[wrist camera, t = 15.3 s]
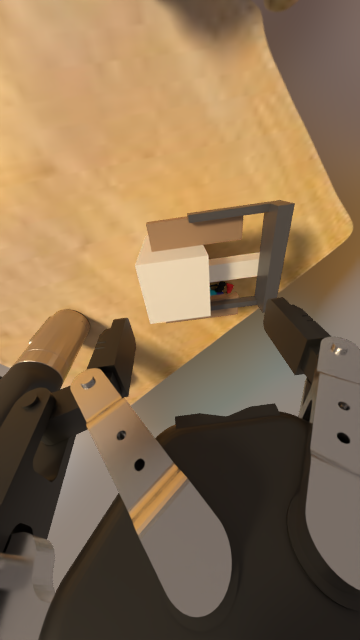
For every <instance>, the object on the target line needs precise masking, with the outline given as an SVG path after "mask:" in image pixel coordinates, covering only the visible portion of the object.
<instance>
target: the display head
mask: <svg viewBox="0 0 360 640" xmlns="http://www.w3.org/2000/svg"><path fill="white" fill-rule="evenodd" d="M146 226H147V231H148V235H146V236H145V239H144V241H143V244H142V247H141V250H140V253H139V256H138V258H137V261H136V264H135V268H136V271H137V275H138V279H139V283H140V287H141V290H142V294H143V298H144V302H145V305H146V309H147V313H148V317H149V321H150V324H153V323H161V322H166V323H173V322H181V321H188V320H196V319H204V318H211V317H219V316H227V315H234V314H238V307H237V308H229V309H221V310H213V311H211V309H210V302H212V301H220V300H228V299H235V298H239V296H238V294H237V293H236V292H235V293H227V294H220V295H212V296H210V282H217V281H225V280H232V279H239V278H247V277H254V276H257V272H258V263H259V255H260V252H258V253H251V254H244V255H236V256H229V257H222V258H215V259H209V257H208V254H207V252H206V250H205V248H204V246H203V245H206V244H213V243H220V242H227V241H234V240H241V239H242V228H243V216H236V217H229V218H222V219H215V220H208V221H201V222H194V223H189V222H188V216H187V217H180V218H173V219H166V220H159V221H152V222H147V223H146Z"/></svg>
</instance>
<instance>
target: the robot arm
mask: <svg viewBox="0 0 360 640" xmlns="http://www.w3.org/2000/svg"><path fill="white" fill-rule="evenodd" d="M263 322H264V323H263V324H264V329H265V331H266V333H267V334H268V336H269V337H270V339H271V340H272V342H273V343H274V345H275V346H276V348H277V349H278V351H279V352H280V354H281V355H282V357H283V358H284V360H285V361H286V363H287V364H288V365H289V367H290V368H291V370H292V371H293V373H294V374H295V375H299V374H305V375H306V376H307V378H306V381H305V385H304V390H303V396H302V401H301V406H300V411H299V415H298V417H297V416H294V415H292V414H288V413H284V412H279V411H278V409H277V407H276V405H275V404H267V405H260V406H252V407H249V408H246V409H244V410H241V411H239V412H237V413H234V414H232V415H230V416H226V417H225V416H216V415H208V414H200V413H199V414H191V415H184V416H177V417H175V423H176V424H175V425H173V426H171V427H169V428H167V429H166V430H164V431H163V432H162V433H160V434H159V435H158V436H157V437H156V438H154V436H153V435H152V433H151V432H150V431H149V430H148V428H147V427H146V426H145V424H144V423H143V422H142V420H141V419H140V418H139V416H138V415H137V414H136V412H135V411H134V410H133V409H132V407H131V406H130V404H129V403H128V402H127V400H126V399H125V398H124V397H128V395H129V388H130V382H131V375H132V369H133V362H134V356H135V349H136V343H135V338H134V334H133V331H132V328H131V325H130V322H129V319H128V318H121V319H114V320H113V323H112V326H111V329H106V330H105V331H104V332H103V333H102V334H101V335H100V337H99V339H98V342H97V344H96V347H95V350H94V352H93V355H92V357H91V360H90V362H89V365H88V367H87V370H85V371H83V372H81V373H80V374H78V375H77V376H76V377H75V378H74V380H73V381H72V383H71V386H68V387H66V388H63V389H61V390H60V388H61V386H62V384H63V382H64V380H65V378H66V376H67V374H68V372H69V370H70V368H71V366H72V364H73V362H74V360H75V358H76V356H77V354H78V352H79V350H80V348H81V346H82V344H83V342H84V340H85V338H86V336H87V334H88V332H89V330H90V324H89V322H88V320H87V319H86V318H85V317H84V316H83V315H82V314H80V313H78V312H76V311H73V310H60V311H58V312H56V313H55V314H54V316H52V317H49V318H48V319H47V320H46V321H45V323H44V324H43V325H42V326H41V328H40V329H39V330H38V331H37V332H36V334H35V335H34V336H33V337H32V338H31V340H30V341H29V344H30V345H29V346H28V347H27V349H26V350H25V351H24V352H23V354H22V355H21V356H20V357H19V359H18V360H17V361H16V362H15V364H14V365H13V366H12V367H11V368H10V370H9V371H8V372H7V373H6V374H5V375H4V376H3V377H2V378H1V379H0V640H360V349H359V348H358V347H357V346H356V345H355V344H354V343H352V342H351V341H349V340H346V339H343V338H339V337H331V336H330V335H329V334H328V333H327V332H326V331H325V330H324V329H323V328H322V327H321V326H320V325H319V324H318V323H316V322H315V321H313V319H312V318H311V317H310V316H308V314H307V313H306V312H305V311H303V309H301V308H299V307H297V306H295V305H290V304H289V303H288V302H287V301H286V300H285V299H284V298H283V297H281V298H273V299H268V300H267V303H266V309H265V315H264V321H263ZM87 429H88V430H89V432H90V434H91V436H92V439H93V441H94V443H95V445H96V447H97V449H98V451H99V453H100V455H101V457H102V459H103V461H104V463H105V465H106V467H107V469H108V471H109V473H110V475H111V477H112V479H113V481H114V483H115V485H116V487H117V490H118V492H119V493H118V495H117V496H116V498H115V500H114V501H113V503H112V504H111V506H110V507H109V509H108V510H107V512H106V514H105V515H104V517H103V518H102V520H101V521H100V523H99V524H98V526H97V527H96V529H95V530H94V532H93V534H92V535H91V536H90V538H89V540H88V541H87V543H86V544H85V546H84V547H83V549H82V550H81V552H80V553H79V555H78V557H77V558H76V560H75V561H74V563H73V564H72V566H71V567H70V569H69V571H68V572H67V573H66V575H65V577H64V578H63V580H62V582H61V583H60V585H59V587H58V589H57V591H56V593H55V591H54V587H53V580H52V578H53V568H54V561H55V560H54V559H55V554H54V548H53V545H52V544H51V542H50V541H49V540H47V537H48V534H49V530H50V526H51V523H52V519H53V515H54V511H55V509H56V505H57V501H58V498H59V494H60V490H61V487H62V483H63V479H64V476H65V473H66V469H67V465H68V462H69V458H70V454H71V451H72V447H73V444H74V440H75V437H76V434H78V433H81V432H83V431H85V430H87Z"/></svg>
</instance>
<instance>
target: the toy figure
mask: <svg viewBox="0 0 360 640" xmlns="http://www.w3.org/2000/svg"><path fill="white" fill-rule="evenodd" d="M226 284H227V293H231V291H232V289H233V286H234V285H232V284H229V283H226V282H222V281H220V282H219V285H217V284H215V285H210V287H212V286H217V288H216V289H215V290H210V296H212V295H220V294H224V293H223V292H222V290H224V286H226ZM210 289H211V288H210Z"/></svg>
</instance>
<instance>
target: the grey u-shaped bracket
mask: <svg viewBox="0 0 360 640" xmlns="http://www.w3.org/2000/svg"><path fill="white" fill-rule="evenodd" d="M294 205H295V203H290V202H286V201H281V200H278V201H271V202H264V203H257V204H250V205H243V206H236V207H229V208H222V209H215V210H208V211H201V212H194V213H187V216H188V222H189V223H194V222H201V221H208V220H215V219H222V218H229V217H236V216H243V215H250V214H257V213H264V220H263V228H262V237H261V246H260V255H259V263H258V272H257V281H256V289H255V296H251V297H243V298H235V299H228V300H220V301H212V302H210V309H211V311H213V310H221V309H229V308H237V307H244V306H252V305H258V307H259V308H260V310H261V311H262V312H265V309H266V303H267V300H268V299H273V298H277V294H278V289H279V284H280V278H281V273H282V268H283V263H284V257H285V252H286V247H287V242H288V236H289V231H290V226H291V221H292V215H293V210H294Z"/></svg>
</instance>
